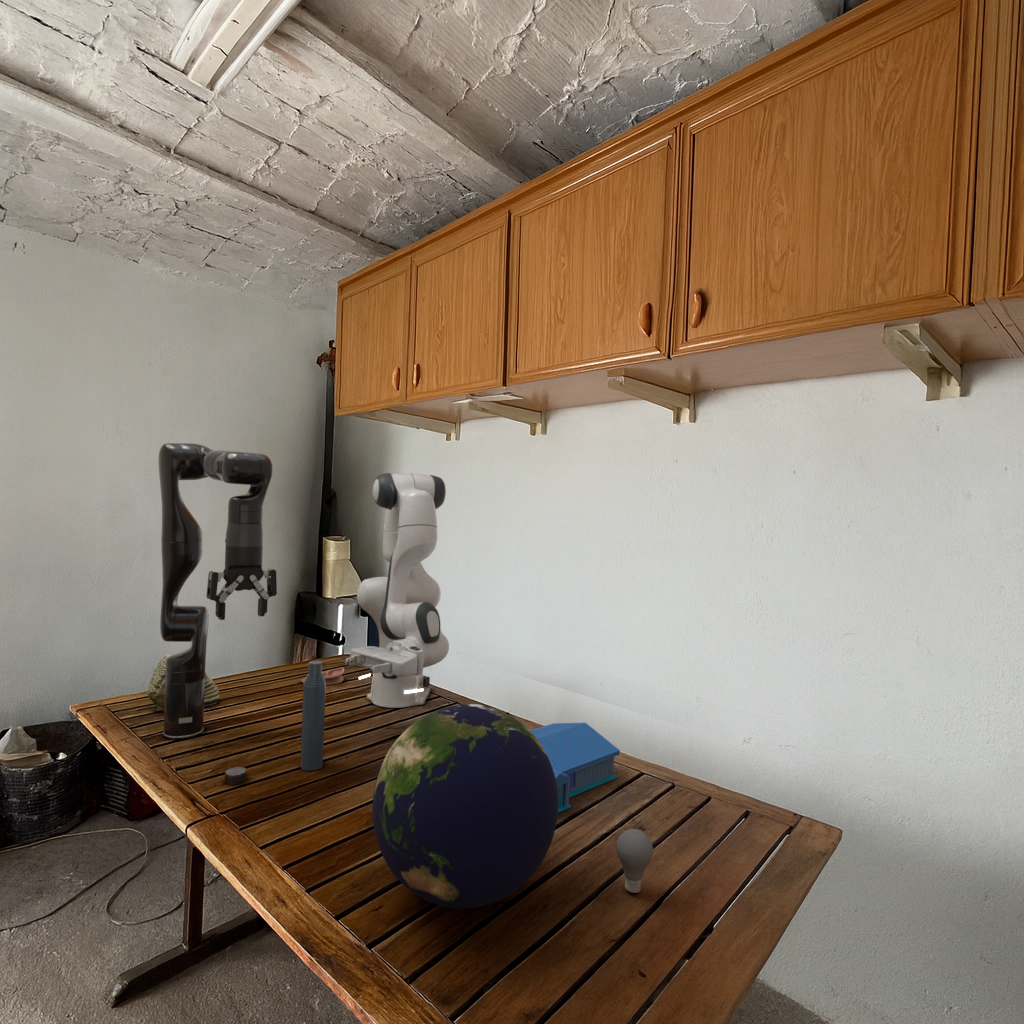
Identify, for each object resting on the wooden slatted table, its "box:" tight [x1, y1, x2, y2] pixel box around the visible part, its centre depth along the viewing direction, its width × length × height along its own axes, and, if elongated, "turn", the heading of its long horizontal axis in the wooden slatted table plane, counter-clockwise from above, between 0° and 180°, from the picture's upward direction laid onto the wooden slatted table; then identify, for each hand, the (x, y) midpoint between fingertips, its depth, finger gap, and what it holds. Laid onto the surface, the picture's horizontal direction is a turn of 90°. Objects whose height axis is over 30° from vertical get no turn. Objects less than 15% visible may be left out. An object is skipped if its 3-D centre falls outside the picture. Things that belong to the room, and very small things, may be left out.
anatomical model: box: [300, 666, 345, 686], centre depth 215 cm, size 13×4×12 cm
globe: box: [371, 703, 559, 910], centre depth 103 cm, size 30×30×30 cm
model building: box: [529, 722, 621, 814], centre depth 143 cm, size 39×24×10 cm, turn 132°
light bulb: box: [615, 828, 654, 894], centre depth 106 cm, size 6×6×10 cm
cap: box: [224, 766, 247, 786], centre depth 139 cm, size 4×4×2 cm
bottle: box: [299, 660, 327, 772], centre depth 148 cm, size 5×5×24 cm
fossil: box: [147, 654, 221, 712], centre depth 185 cm, size 9×18×15 cm, turn 132°
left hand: (241, 617), depth 139 cm, fingers open, 8 cm apart
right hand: (359, 665), depth 159 cm, fingers open, 8 cm apart
